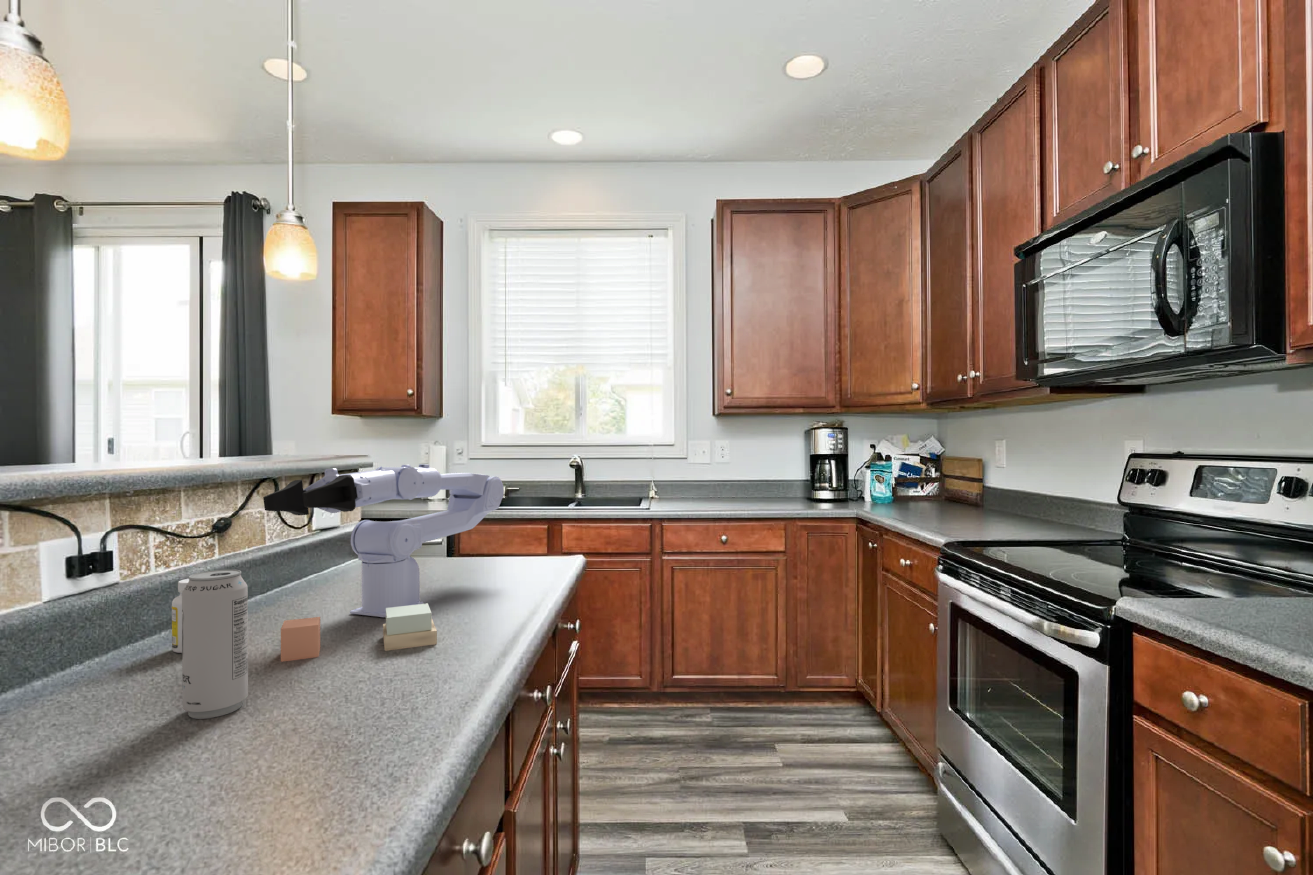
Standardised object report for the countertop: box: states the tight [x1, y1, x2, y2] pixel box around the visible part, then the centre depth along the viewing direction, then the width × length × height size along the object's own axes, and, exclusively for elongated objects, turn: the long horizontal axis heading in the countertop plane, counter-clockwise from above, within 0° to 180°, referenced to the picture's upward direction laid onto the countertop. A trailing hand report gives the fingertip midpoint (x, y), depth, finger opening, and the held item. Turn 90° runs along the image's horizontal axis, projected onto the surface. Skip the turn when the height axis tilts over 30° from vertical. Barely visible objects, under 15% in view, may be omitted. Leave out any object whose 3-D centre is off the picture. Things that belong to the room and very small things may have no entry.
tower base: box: [382, 619, 438, 652], centre depth 96 cm, size 7×7×2 cm
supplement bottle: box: [171, 578, 189, 654], centre depth 93 cm, size 5×5×10 cm
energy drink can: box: [181, 569, 249, 720], centre depth 72 cm, size 6×6×15 cm
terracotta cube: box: [280, 616, 321, 663], centre depth 90 cm, size 4×4×4 cm
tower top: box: [385, 602, 433, 635], centre depth 96 cm, size 6×6×2 cm
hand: (285, 501), depth 94 cm, fingers open, 7 cm apart
